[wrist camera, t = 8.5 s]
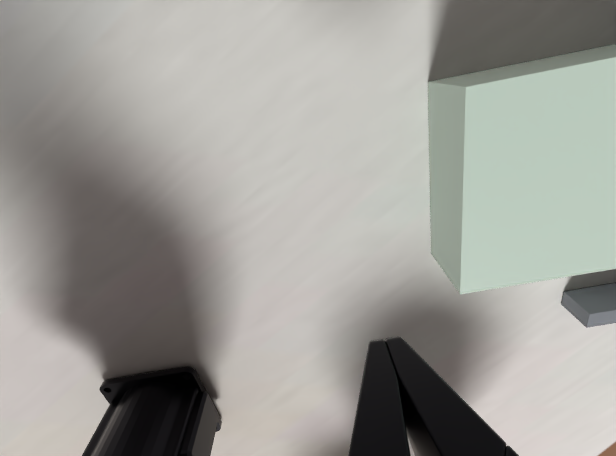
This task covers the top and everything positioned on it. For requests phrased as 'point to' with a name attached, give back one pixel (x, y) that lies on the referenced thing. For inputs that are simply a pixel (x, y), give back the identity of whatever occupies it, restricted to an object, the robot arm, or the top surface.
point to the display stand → (592, 304)
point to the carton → (524, 171)
